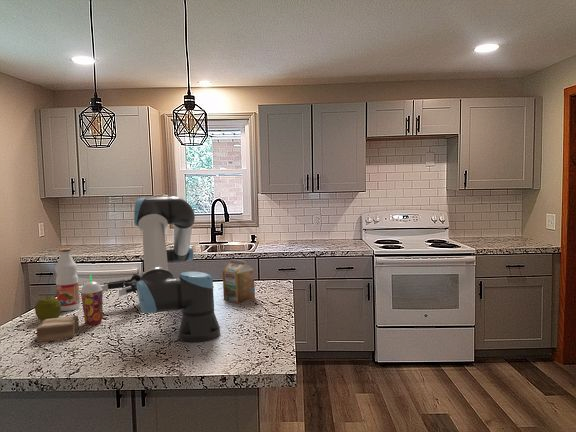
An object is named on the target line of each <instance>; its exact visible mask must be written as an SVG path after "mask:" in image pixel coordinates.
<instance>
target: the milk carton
mask: <svg viewBox="0 0 576 432" xmlns="http://www.w3.org/2000/svg"><path fill="white" fill-rule="evenodd" d="M222 288H223V289H222V290H223V300H224V301H227V302H230V303H235V304H241V303H245V302H249V301H251V300H255V299H256V292H255V291H256V290H255V289H256V287H255V269H254V268H253V267H252V266H250V265H249V264H246V261H245V260H241V259H240V260H239V259H234V258H230V262H229V263H228V264H226V266H225V267H224V268H223V270H222Z"/></svg>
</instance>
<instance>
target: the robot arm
mask: <svg viewBox="0 0 576 432" xmlns="http://www.w3.org/2000/svg"><path fill="white" fill-rule="evenodd" d="M133 211H134V213H133V221H134V225H135V226H136V227H138V229H139V231H141V232H142V246H143V249H142V250H143V268H144V269H143V270H144V271H143V272H140V273H136V274H133V275H132V276H131V278H129V279H121V280H116V281H109V282H104V283H103V285H100V286H101V288H103V290H102V293H103V292H108V291H109V290H113V289H114V290H115V289H118V296H119V297H122V296H125V295H128V294H132V293H135V292H137V297H138V304H139V308H140V311H141V312H142V313H144V314H157V313H163V312H173V311H179V310H181V315H182V316H181V319H180V320H181V321H180V322H179V323H180V324H179V327H178V331H177V333H178V335H177V336H178V339H179V340H181V342H186V343H187V342H188V343H200V342H206V341H210V340H213V339H215V338H217V337H219V336H220V334H221V327H220V323H219V321H218V319H217V317H216V314H215V302H214V301H215V297H214V288H215V287H214V282H213V281H214V280H213V277H212V276H211V274H209V273H207V272H201V271H183V272H181V273H180V274H179V277H178V276H177V277H174V275H173V273H172V271H170V270H169V264H172V263H186V262H192V261H193V260H194V247H193V246H192V245H191V236H192V226H193V225H194V224H195V219H196V216H195V214H196V213H195V211H194V209H193V208H192V206H191V204H189V203H188V201H186V200H184V199H183V198H181V197H178V196H174V195H173V196H153V197H152V196H150V197H148V196H146V197H140V198H137V199H136V201H135V204H134V210H133ZM172 224H173V225H174V231H173V234H174V235H173V247H167V242H166V234H165V232H166V231H165V230H166V229H167V228H168V225H172Z"/></svg>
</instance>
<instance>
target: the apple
mask: <svg viewBox="0 0 576 432" xmlns="http://www.w3.org/2000/svg"><path fill="white" fill-rule="evenodd" d="M34 312H35V316H36V317H37V319H38V321H41V322H43V320H44V319H52V318H60V314H61V312H62V311H61V304H60V302H59V300H58V299H57V297H54V296H49V297H48V296H46V297H43V298H42V297H41V298H40V299H38V301H37V302H36V304H35V306H34Z"/></svg>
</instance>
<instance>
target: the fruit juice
mask: <svg viewBox="0 0 576 432" xmlns="http://www.w3.org/2000/svg"><path fill="white" fill-rule="evenodd" d="M71 252H72V249H71V248H70V247H68V248H67V247H63V248H59V249H58V253H59V257H58V261H57V262H56V265H55V268H54V269H55V273H56V277H55V287H56V289H55V290H56V299H58V300H59V302H60V304H61V312H69V311H74V310H77V309H79V308H81V293H80V284H79V283H80V281H79V276H78V274H77V272H78V265H77V262H76V261H75V260H74V259H73V257H72V254H71Z"/></svg>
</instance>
